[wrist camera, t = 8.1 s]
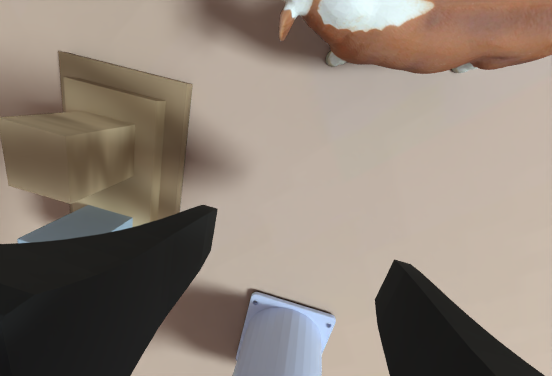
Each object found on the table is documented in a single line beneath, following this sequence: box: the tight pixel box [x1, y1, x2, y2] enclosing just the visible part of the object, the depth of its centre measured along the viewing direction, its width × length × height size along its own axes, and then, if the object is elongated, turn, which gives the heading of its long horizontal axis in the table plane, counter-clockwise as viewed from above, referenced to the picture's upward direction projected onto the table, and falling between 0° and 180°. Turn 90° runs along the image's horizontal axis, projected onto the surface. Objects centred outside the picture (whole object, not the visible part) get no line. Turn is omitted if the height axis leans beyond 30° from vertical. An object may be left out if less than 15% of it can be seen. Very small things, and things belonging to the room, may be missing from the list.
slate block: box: [18, 205, 133, 243], centre depth 20 cm, size 4×4×6 cm
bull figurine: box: [279, 0, 552, 74], centre depth 13 cm, size 4×13×8 cm, turn 82°
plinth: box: [58, 51, 192, 227], centre depth 22 cm, size 19×10×2 cm, turn 167°
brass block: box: [0, 111, 135, 204], centre depth 17 cm, size 4×4×6 cm
